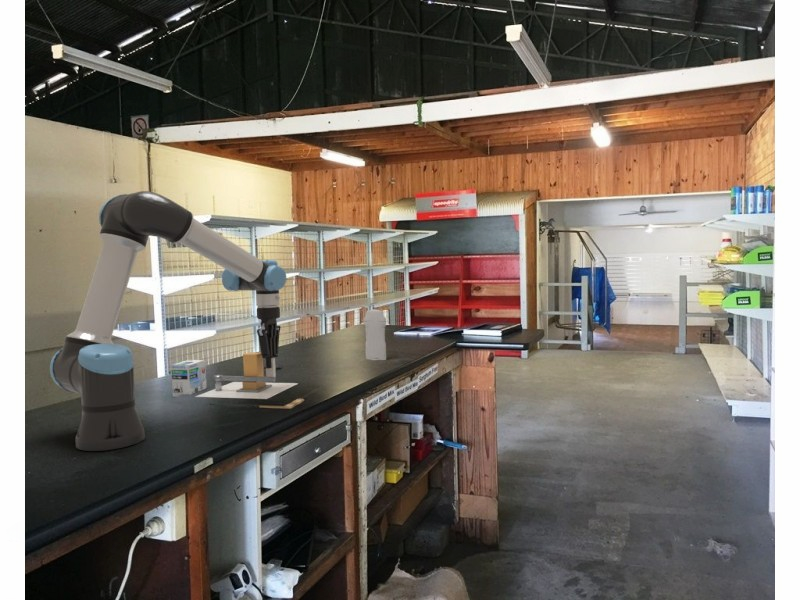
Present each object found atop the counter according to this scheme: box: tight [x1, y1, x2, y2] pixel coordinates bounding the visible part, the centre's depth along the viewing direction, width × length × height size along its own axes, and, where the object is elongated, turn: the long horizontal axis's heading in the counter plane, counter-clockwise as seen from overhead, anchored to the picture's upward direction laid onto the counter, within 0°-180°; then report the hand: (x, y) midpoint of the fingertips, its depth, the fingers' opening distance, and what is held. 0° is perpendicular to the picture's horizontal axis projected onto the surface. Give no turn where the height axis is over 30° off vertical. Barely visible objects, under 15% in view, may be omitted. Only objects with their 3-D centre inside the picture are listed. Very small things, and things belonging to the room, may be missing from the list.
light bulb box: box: [170, 359, 207, 398], centre depth 200 cm, size 11×7×11 cm, turn 168°
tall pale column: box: [363, 308, 387, 361], centre depth 261 cm, size 11×4×22 cm, turn 67°
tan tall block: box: [241, 351, 267, 390], centre depth 200 cm, size 7×5×12 cm
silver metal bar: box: [212, 374, 277, 383], centre depth 197 cm, size 3×22×2 cm, turn 76°
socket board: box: [194, 381, 299, 400], centre depth 199 cm, size 24×25×4 cm
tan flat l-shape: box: [259, 398, 305, 409], centre depth 182 cm, size 10×10×1 cm
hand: (271, 377), depth 200 cm, fingers closed
